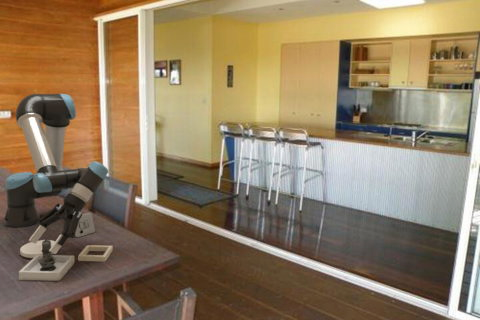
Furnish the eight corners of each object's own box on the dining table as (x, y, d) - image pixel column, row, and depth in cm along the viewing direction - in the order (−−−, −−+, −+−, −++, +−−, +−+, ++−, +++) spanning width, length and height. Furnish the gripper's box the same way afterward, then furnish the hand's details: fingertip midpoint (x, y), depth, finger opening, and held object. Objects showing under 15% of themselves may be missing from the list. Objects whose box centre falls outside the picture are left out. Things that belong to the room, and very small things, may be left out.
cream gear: (22, 247, 170) (22, 242, 169) (59, 244, 175) (59, 238, 174) (18, 262, 157) (18, 256, 156) (58, 257, 162) (58, 251, 161)
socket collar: (87, 249, 169) (87, 245, 169) (112, 250, 170) (112, 245, 169) (78, 260, 159) (78, 256, 159) (105, 261, 160) (105, 256, 159)
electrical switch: (76, 238, 181) (74, 217, 179) (70, 236, 184) (68, 216, 182) (95, 232, 188) (93, 213, 186) (89, 230, 191) (87, 211, 190)
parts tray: (37, 262, 157) (37, 254, 156) (74, 262, 157) (74, 255, 157) (19, 279, 143) (18, 272, 143) (59, 280, 144) (59, 272, 143)
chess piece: (42, 265, 153) (40, 234, 150) (59, 265, 153) (57, 234, 151) (36, 272, 147) (34, 241, 145) (53, 272, 148) (51, 241, 145)
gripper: (104, 210, 151) (68, 261, 142) (66, 196, 166) (31, 242, 157) (91, 199, 146) (53, 252, 137) (52, 186, 160) (16, 233, 151)
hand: (41, 247), depth 147 cm, fingers open, 13 cm apart
